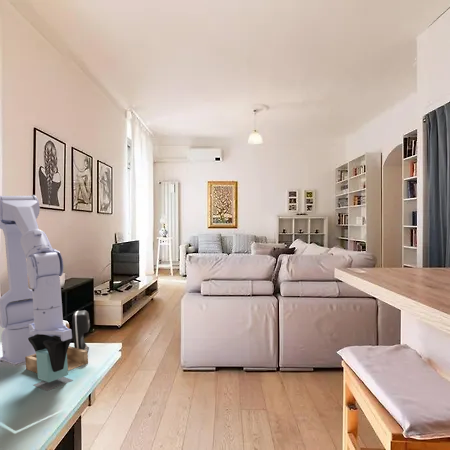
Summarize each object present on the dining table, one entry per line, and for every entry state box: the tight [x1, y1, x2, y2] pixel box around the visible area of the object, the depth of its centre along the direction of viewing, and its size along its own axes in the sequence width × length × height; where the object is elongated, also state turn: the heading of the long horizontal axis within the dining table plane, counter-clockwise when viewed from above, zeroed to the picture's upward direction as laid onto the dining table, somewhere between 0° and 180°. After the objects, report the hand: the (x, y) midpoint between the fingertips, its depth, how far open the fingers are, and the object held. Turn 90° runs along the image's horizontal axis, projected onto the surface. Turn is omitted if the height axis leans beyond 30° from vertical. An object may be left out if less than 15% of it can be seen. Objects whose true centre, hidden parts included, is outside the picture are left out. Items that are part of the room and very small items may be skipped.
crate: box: [25, 345, 89, 374], centre depth 94 cm, size 11×10×3 cm
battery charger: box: [71, 309, 91, 354], centre depth 103 cm, size 7×4×11 cm, turn 15°
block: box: [36, 348, 69, 382], centre depth 83 cm, size 4×4×6 cm
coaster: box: [33, 376, 74, 392], centre depth 83 cm, size 6×6×1 cm
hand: (52, 368), depth 83 cm, fingers closed on block, 4 cm apart
